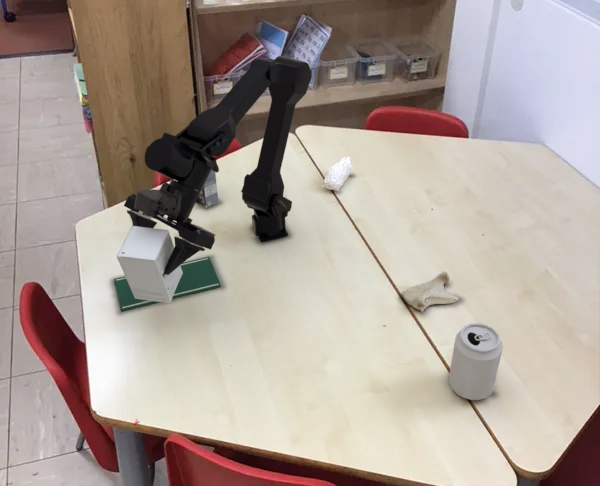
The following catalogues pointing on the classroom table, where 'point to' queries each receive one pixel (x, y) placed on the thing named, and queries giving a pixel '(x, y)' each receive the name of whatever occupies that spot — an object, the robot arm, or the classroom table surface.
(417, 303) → the fossil
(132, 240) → the white packaging box
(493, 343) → the can
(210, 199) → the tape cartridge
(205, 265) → the green mat
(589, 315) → the classroom table surface
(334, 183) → the white crumpled lump
